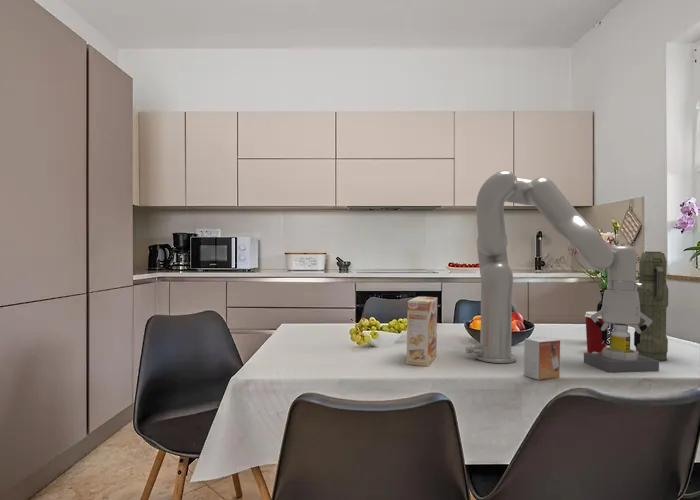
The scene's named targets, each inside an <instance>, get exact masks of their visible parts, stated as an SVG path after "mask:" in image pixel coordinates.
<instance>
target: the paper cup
mask: <svg viewBox="0 0 700 500" xmlns="http://www.w3.org/2000/svg"><path fill="white" fill-rule="evenodd" d="M597 312H598V311H586V312H585V314H584V317H585V332H586V333H585V335H586V351H587V352H586V353H592V352H598V353H602V349H603V348H604V347H608V346H607V345H608V343H607V344H604V341H602V330H601V329H600V328H599V327H598V326H597V325H596V324H595V322H594V321H593V320H592V319H591V316H592V315H593V314H595V313H597ZM597 319H598V320H599V322H600V323H602V324H603V323H604V321H603V319H602V315H600V316H599V317H597ZM606 330H607V336H608V335H609V334H608V333H609V332H608V331H609V325H608V326H607V328H606Z"/></svg>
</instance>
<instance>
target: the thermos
mask: <svg viewBox="0 0 700 500" xmlns="http://www.w3.org/2000/svg"><path fill="white" fill-rule="evenodd" d="M638 262H639V265H638V268H639V270H638V274H639V279H638V283H640V284H641V288H637V289H636V291H637V292H638V293H639V300H640V312H642V313H643V314H644V315H646V316H647V317H649V318H650V319H651V320H652V321H653V322H652V323H651V324H650V325H649V326H648V327H647V328H646V329H645V330H644V331H642V332H641V333H640V344H637V347H635V350H636V351H639V355H642V356H645V357H648V358H651V359H655V360H658V361H659V363H660V362H667V361H668V358H667V356H668V351H669V344H668V343H669V340H668V337H667V308H668V306H669V288H668V284H667V279H666V278H667V273H668V272H667V268H668V267H667V266H668V264H667V263H668V261H667V258H666V254H665V253H664V252H662V251H644V252H641V255H640V258H639V261H638ZM645 322H646V321H645V320H644V319H643V318H641V317H640V323H639V324H637V325H638V326H639V327H640V326H641V325H643V324H644V323H645Z"/></svg>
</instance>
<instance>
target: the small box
mask: <svg viewBox="0 0 700 500" xmlns="http://www.w3.org/2000/svg"><path fill="white" fill-rule="evenodd" d="M523 349H524V351H523V352H524V354H523V355H524V356H523V357H524V358H523V360H524V361H523V362H524V363H523V364H524V365H523V375H524V376H525V377H529V378H532V379H535V380H538V381H539V380H548V379H558V378H560V369H561V367H560V365H561V362H560V360H561V340H560V339H556V338H552V337H547V336H542V337H532V338H530V337H529V338H528V337H527V338H524V348H523Z"/></svg>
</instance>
